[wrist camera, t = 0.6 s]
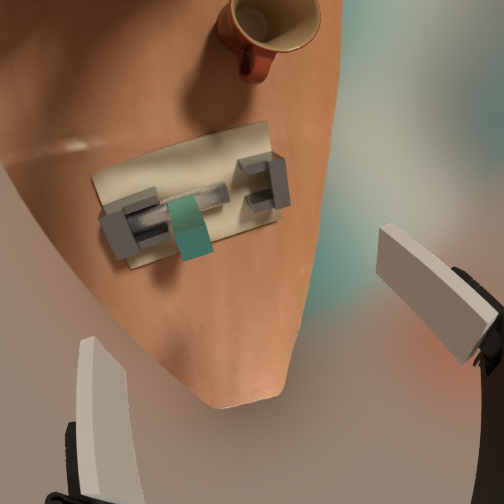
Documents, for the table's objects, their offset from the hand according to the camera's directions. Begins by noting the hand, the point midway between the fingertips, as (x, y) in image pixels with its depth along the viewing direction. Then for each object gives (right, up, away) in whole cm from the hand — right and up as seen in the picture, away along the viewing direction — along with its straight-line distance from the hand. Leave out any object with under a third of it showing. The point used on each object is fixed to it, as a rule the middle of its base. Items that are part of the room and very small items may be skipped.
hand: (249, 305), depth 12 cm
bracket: (-14, +7, +22) cm, 27 cm away
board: (-7, +9, +24) cm, 27 cm away
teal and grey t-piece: (-10, +8, +23) cm, 26 cm away
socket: (+1, +12, +25) cm, 28 cm away
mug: (-1, +27, +16) cm, 31 cm away
